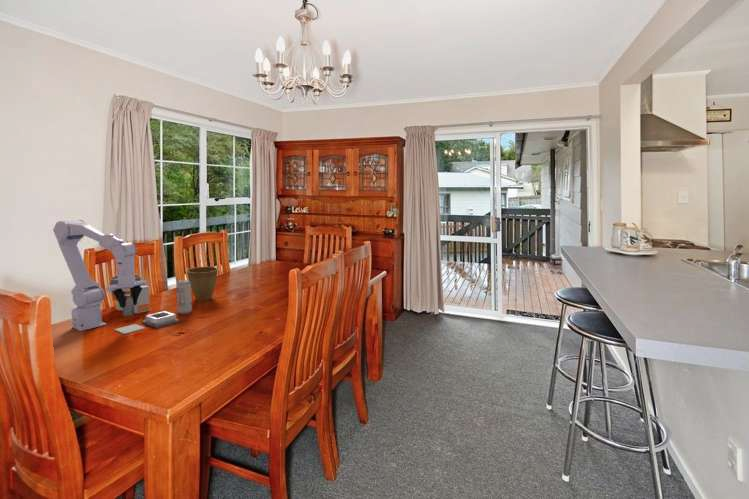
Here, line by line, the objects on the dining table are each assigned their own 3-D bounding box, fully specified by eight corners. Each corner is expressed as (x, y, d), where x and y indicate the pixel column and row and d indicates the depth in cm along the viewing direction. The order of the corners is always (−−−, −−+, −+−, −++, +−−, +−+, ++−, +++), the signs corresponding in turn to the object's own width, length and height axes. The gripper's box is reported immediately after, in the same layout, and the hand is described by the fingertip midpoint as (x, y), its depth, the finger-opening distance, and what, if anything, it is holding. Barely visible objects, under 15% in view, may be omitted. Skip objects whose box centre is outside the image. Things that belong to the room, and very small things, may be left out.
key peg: (126, 316, 153) (125, 297, 152) (120, 315, 155) (119, 295, 154) (136, 314, 157) (135, 294, 156) (131, 312, 159) (129, 293, 157)
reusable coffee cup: (118, 313, 177) (115, 281, 175) (107, 308, 184) (105, 277, 182) (147, 307, 187) (145, 277, 185) (136, 302, 194) (134, 273, 192)
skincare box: (136, 313, 177) (134, 288, 175) (132, 312, 179) (131, 287, 178) (150, 310, 182) (149, 286, 180) (146, 309, 184) (145, 284, 182)
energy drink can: (194, 311, 182) (193, 280, 180) (182, 315, 176) (181, 283, 174) (187, 309, 185) (185, 279, 183) (175, 312, 179) (173, 281, 177)
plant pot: (188, 296, 207) (187, 267, 205) (218, 294, 214) (217, 266, 211) (187, 303, 194) (186, 272, 192) (219, 301, 200) (218, 271, 198)
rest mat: (124, 334, 151) (124, 333, 151) (114, 330, 155) (114, 329, 155) (145, 328, 158) (145, 327, 158) (135, 324, 162) (135, 323, 162)
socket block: (156, 328, 159) (156, 320, 158) (141, 322, 165) (141, 315, 165) (179, 321, 167) (179, 314, 167) (164, 316, 174) (164, 309, 173)
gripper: (110, 277, 145) (113, 311, 147) (150, 271, 157) (152, 303, 159) (102, 274, 149) (104, 308, 151) (141, 269, 161) (143, 300, 163)
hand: (128, 305), depth 155 cm, fingers closed on key peg, 4 cm apart
